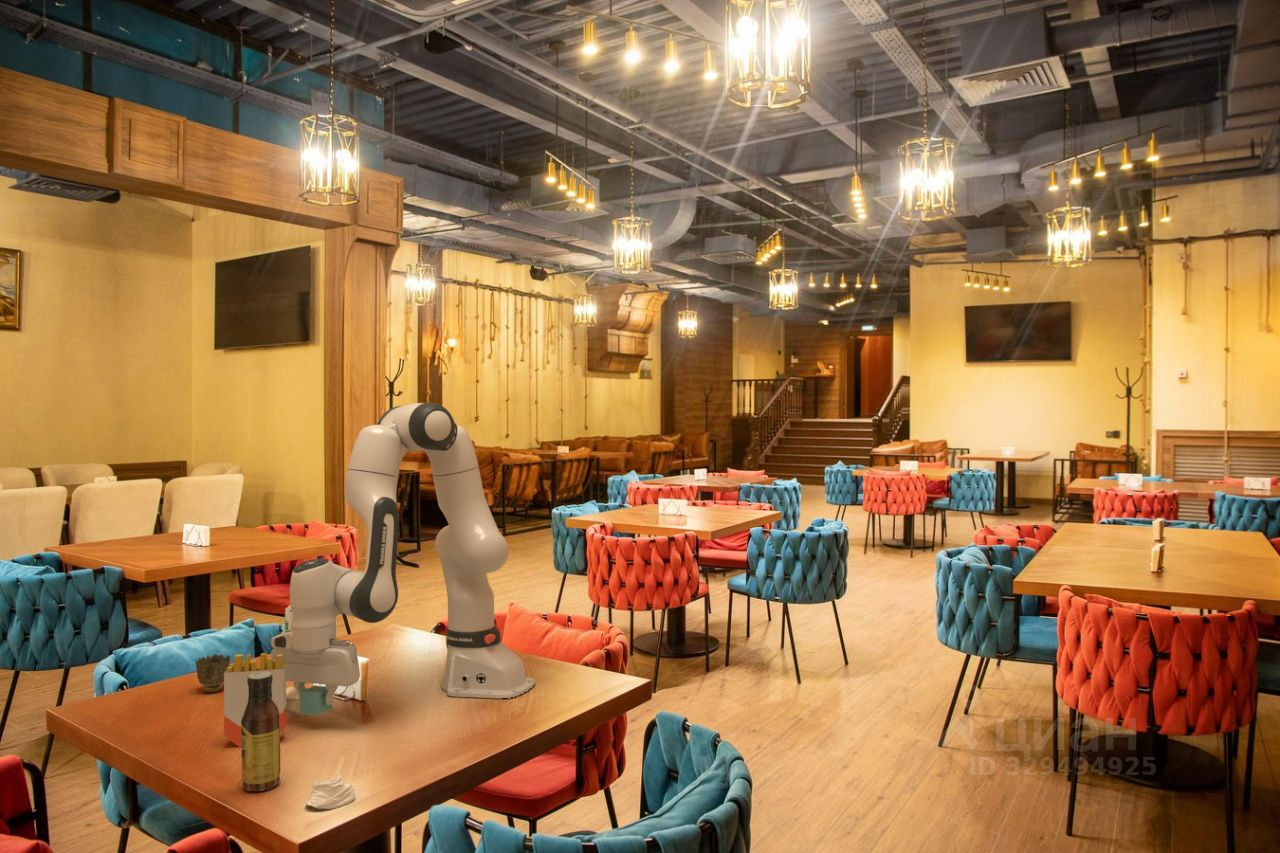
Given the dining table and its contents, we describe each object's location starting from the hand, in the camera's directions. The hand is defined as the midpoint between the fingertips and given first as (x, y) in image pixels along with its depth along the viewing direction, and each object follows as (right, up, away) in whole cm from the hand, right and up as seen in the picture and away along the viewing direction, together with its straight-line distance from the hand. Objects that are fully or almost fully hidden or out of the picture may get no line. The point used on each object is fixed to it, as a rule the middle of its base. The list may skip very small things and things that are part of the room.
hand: (316, 703), depth 180 cm
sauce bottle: (+2, -5, -30) cm, 30 cm away
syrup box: (-25, -5, +53) cm, 58 cm away
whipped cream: (+16, -5, -36) cm, 40 cm away
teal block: (0, -2, 0) cm, 2 cm away
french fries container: (-9, -5, -9) cm, 13 cm away
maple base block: (-9, -5, +11) cm, 15 cm away
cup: (-34, -5, +24) cm, 42 cm away
